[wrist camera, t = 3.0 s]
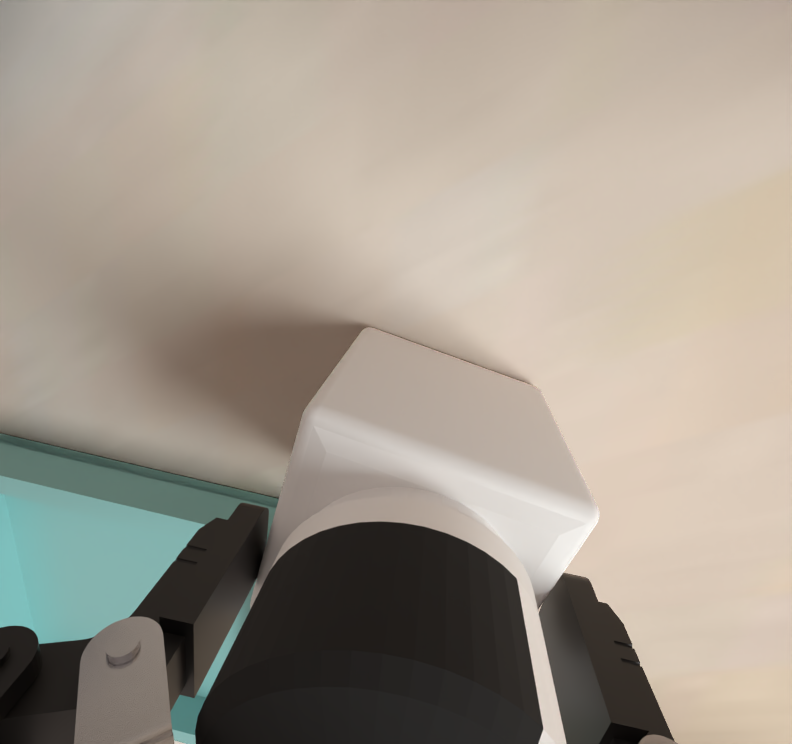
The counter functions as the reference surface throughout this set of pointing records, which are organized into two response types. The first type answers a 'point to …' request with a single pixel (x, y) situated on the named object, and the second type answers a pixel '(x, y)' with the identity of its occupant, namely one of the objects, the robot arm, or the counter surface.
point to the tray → (100, 544)
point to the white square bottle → (408, 563)
